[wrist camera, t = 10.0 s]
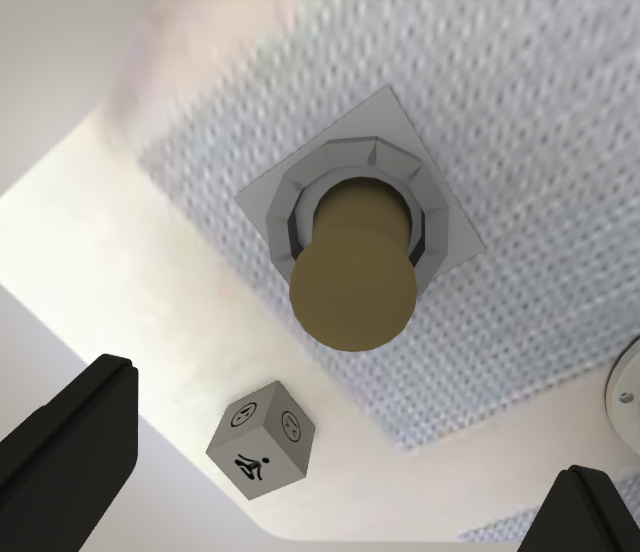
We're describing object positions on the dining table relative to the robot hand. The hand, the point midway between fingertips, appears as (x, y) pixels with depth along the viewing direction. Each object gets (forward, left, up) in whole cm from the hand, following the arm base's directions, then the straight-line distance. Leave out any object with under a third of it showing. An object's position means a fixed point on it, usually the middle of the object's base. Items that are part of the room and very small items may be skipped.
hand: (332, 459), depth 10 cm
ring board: (0, 0, -19) cm, 19 cm away
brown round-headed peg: (0, 0, -19) cm, 19 cm away
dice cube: (-9, +15, -20) cm, 26 cm away
